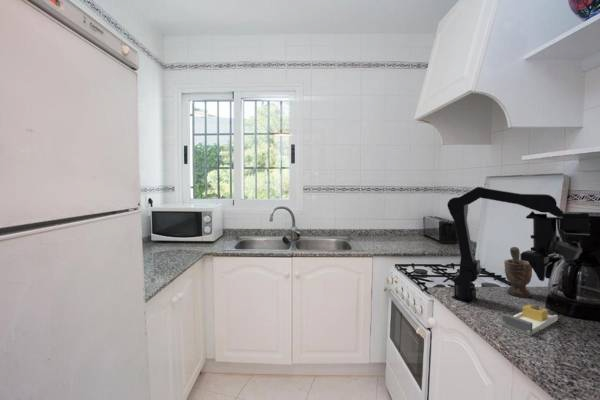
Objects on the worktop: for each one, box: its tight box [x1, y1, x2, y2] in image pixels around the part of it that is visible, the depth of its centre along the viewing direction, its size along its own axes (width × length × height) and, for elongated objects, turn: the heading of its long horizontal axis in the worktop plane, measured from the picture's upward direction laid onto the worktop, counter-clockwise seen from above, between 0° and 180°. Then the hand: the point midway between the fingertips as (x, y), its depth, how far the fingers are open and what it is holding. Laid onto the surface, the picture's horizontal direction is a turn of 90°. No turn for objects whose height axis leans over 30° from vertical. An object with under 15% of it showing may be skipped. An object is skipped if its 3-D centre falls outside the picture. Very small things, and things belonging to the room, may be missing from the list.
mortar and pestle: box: [503, 246, 533, 298], centre depth 108 cm, size 12×9×20 cm
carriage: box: [522, 304, 549, 322], centre depth 88 cm, size 5×4×4 cm
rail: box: [502, 310, 559, 337], centre depth 86 cm, size 7×18×4 cm, turn 118°
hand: (544, 279), depth 91 cm, fingers open, 4 cm apart
